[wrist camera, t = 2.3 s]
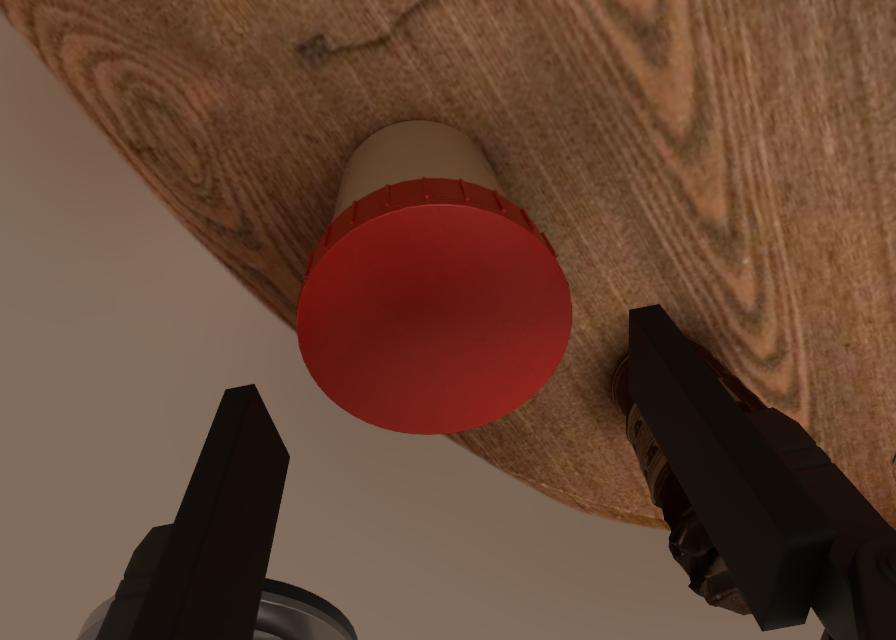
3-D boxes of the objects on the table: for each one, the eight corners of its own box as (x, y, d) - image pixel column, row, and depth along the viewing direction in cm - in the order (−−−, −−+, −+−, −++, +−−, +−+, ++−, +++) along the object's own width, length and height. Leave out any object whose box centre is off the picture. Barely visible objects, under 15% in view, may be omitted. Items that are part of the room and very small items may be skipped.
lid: (345, 413, 21) (341, 456, 19) (266, 207, 16) (250, 237, 15) (563, 370, 21) (580, 409, 19) (545, 149, 16) (565, 172, 14)
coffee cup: (564, 409, 35) (645, 613, 24) (632, 301, 31) (768, 485, 20) (677, 437, 37) (798, 634, 26) (754, 340, 33) (936, 524, 22)
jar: (362, 285, 28) (350, 437, 19) (317, 138, 24) (275, 243, 15) (506, 255, 28) (564, 394, 19) (486, 103, 24) (546, 187, 15)
